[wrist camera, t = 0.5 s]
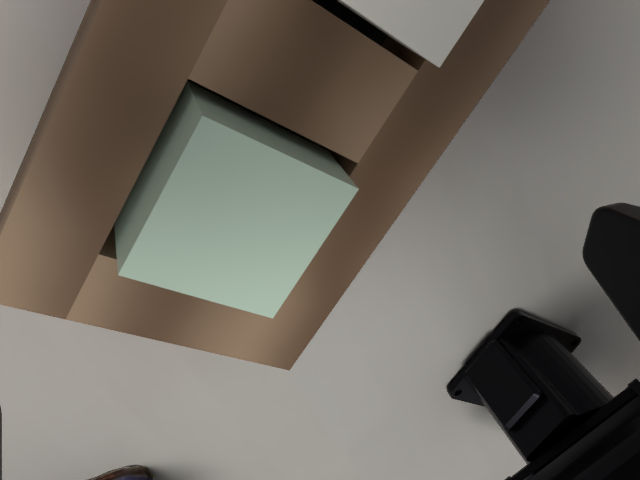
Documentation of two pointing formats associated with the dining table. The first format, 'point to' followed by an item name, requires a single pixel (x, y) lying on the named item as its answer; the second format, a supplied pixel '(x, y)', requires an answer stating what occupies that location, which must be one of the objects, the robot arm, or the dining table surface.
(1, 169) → the dining table surface
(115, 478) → the flask
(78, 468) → the dining table surface
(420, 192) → the dining table surface
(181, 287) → the sage button
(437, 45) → the cream button
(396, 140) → the button panel
